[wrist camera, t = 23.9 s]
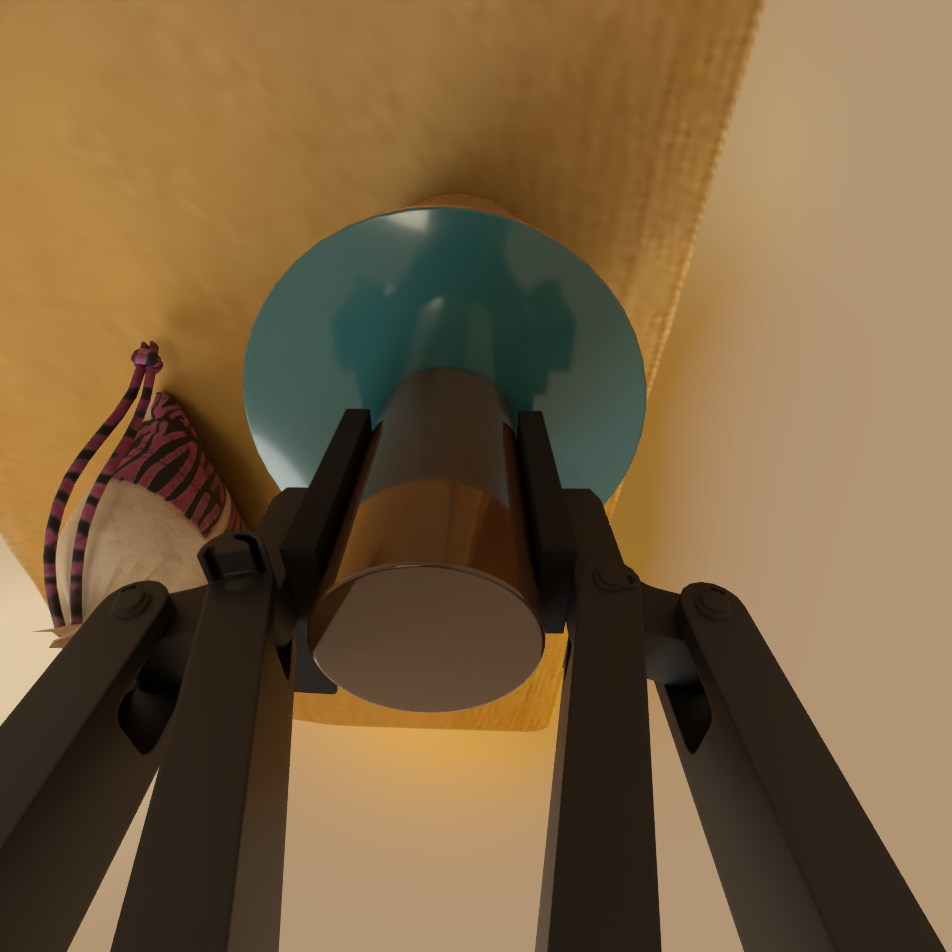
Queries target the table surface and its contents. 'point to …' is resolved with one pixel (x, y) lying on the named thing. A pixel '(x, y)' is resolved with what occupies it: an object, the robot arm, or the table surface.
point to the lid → (439, 436)
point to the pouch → (135, 508)
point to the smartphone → (309, 668)
